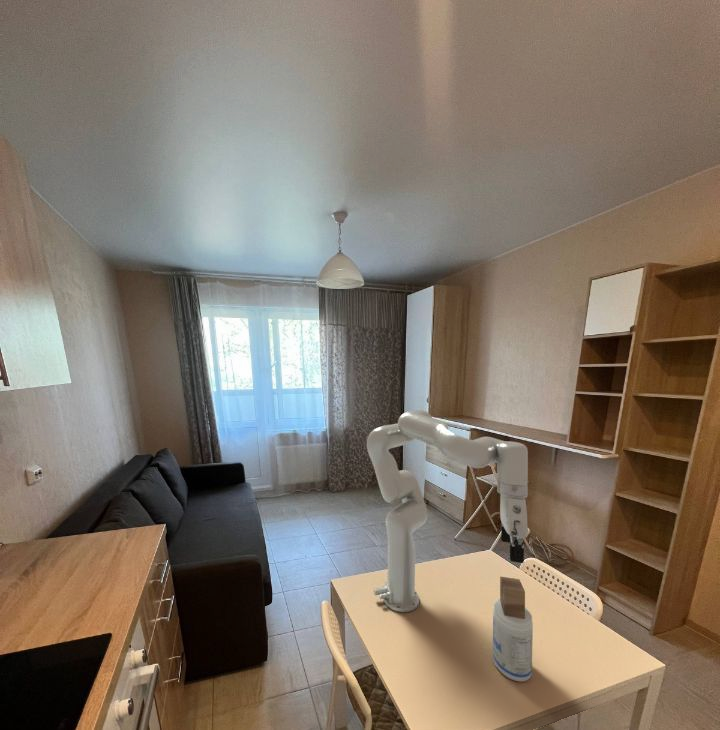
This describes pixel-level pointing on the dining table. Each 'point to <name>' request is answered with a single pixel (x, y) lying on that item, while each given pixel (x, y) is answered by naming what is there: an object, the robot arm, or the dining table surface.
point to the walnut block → (512, 597)
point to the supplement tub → (512, 644)
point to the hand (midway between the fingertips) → (511, 551)
